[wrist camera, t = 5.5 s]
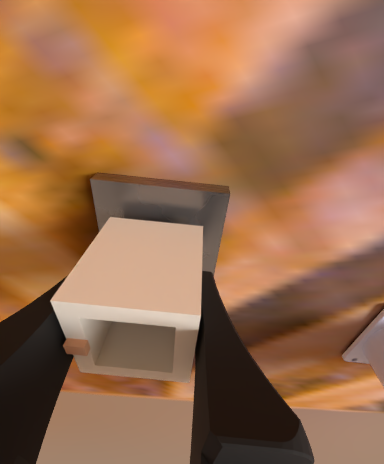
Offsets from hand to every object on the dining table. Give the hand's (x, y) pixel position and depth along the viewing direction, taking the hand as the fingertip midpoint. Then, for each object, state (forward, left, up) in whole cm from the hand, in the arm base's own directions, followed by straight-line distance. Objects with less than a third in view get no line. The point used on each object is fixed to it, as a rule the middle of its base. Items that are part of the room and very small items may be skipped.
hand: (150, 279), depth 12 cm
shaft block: (0, 0, -4) cm, 4 cm away
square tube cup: (0, 0, -2) cm, 2 cm away
